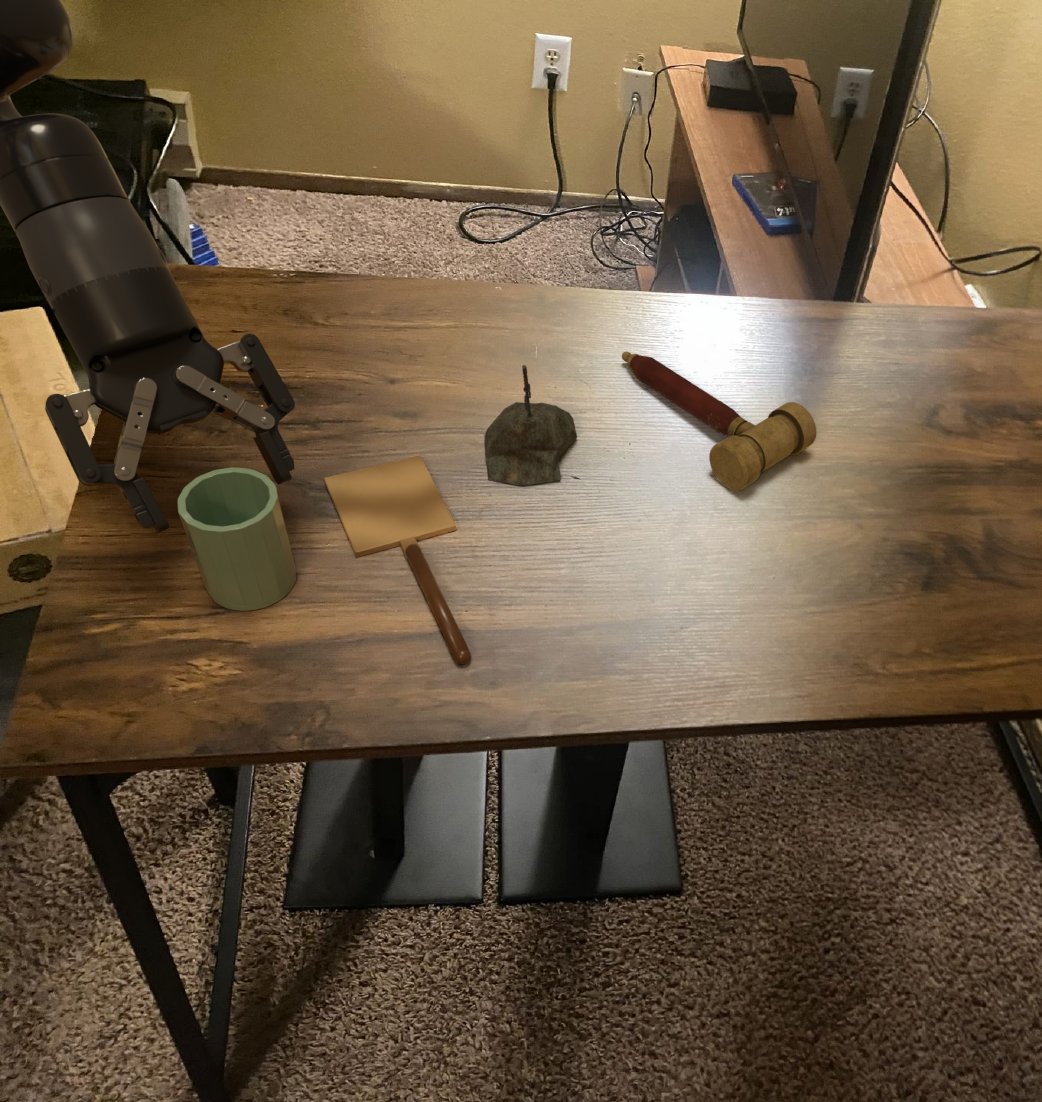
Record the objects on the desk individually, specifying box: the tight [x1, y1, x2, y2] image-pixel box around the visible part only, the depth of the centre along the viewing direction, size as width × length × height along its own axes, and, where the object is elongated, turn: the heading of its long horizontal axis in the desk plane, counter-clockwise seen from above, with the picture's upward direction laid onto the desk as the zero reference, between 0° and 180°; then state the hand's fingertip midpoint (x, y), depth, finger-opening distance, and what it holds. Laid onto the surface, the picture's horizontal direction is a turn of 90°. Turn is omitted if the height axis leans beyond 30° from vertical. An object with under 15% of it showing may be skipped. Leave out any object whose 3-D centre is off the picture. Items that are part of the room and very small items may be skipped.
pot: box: [176, 466, 298, 612], centre depth 71 cm, size 6×6×8 cm
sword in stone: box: [483, 364, 578, 487], centre depth 84 cm, size 10×8×12 cm
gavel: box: [621, 351, 817, 492], centre depth 94 cm, size 21×5×10 cm
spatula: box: [323, 454, 472, 665], centre depth 77 cm, size 22×8×1 cm, turn 31°
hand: (226, 505), depth 70 cm, fingers open, 8 cm apart
